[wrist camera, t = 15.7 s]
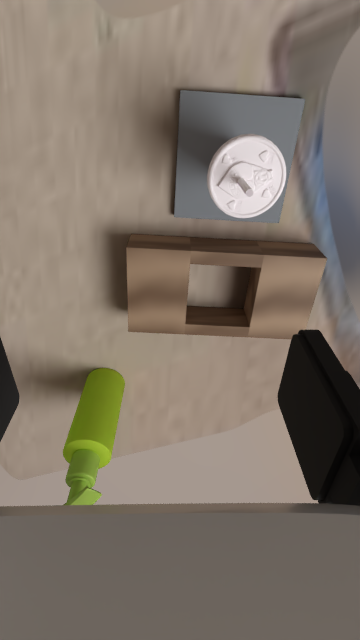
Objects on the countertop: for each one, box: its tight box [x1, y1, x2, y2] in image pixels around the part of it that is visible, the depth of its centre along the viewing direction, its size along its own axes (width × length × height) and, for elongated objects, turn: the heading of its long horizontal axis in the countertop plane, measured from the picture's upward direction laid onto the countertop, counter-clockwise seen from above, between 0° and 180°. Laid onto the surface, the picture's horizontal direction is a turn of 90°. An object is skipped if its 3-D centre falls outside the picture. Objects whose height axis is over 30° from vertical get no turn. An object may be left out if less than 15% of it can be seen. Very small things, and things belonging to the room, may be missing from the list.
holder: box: [126, 234, 327, 339], centre depth 42 cm, size 11×22×4 cm, turn 87°
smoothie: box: [207, 134, 286, 218], centre depth 30 cm, size 6×6×14 cm
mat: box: [174, 90, 305, 223], centre depth 36 cm, size 12×12×1 cm
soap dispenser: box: [63, 368, 125, 505], centre depth 45 cm, size 6×7×20 cm
